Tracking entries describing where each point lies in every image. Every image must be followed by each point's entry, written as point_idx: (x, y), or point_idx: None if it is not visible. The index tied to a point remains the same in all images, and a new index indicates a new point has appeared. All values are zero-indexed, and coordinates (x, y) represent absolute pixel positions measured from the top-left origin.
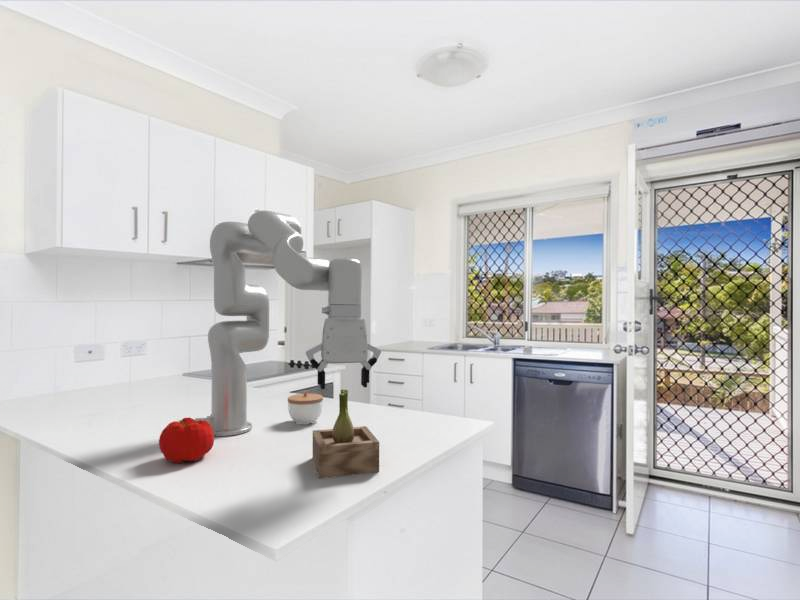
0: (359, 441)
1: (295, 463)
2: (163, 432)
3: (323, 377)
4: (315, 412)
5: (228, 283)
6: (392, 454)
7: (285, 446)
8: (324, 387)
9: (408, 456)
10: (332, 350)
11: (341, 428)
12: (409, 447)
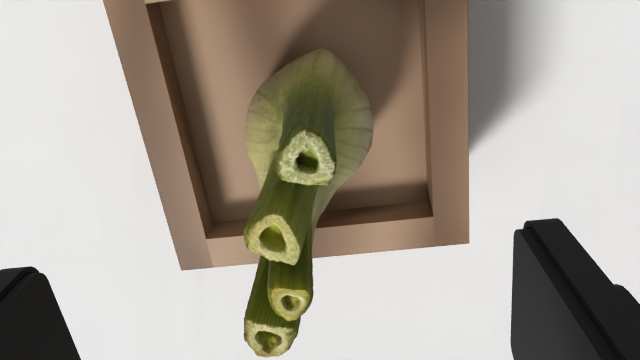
0: (222, 112)
1: (518, 131)
2: None
3: (606, 307)
4: None
5: None
6: (96, 165)
7: None
8: (526, 230)
9: (24, 130)
10: None
11: (321, 52)
12: (25, 233)
